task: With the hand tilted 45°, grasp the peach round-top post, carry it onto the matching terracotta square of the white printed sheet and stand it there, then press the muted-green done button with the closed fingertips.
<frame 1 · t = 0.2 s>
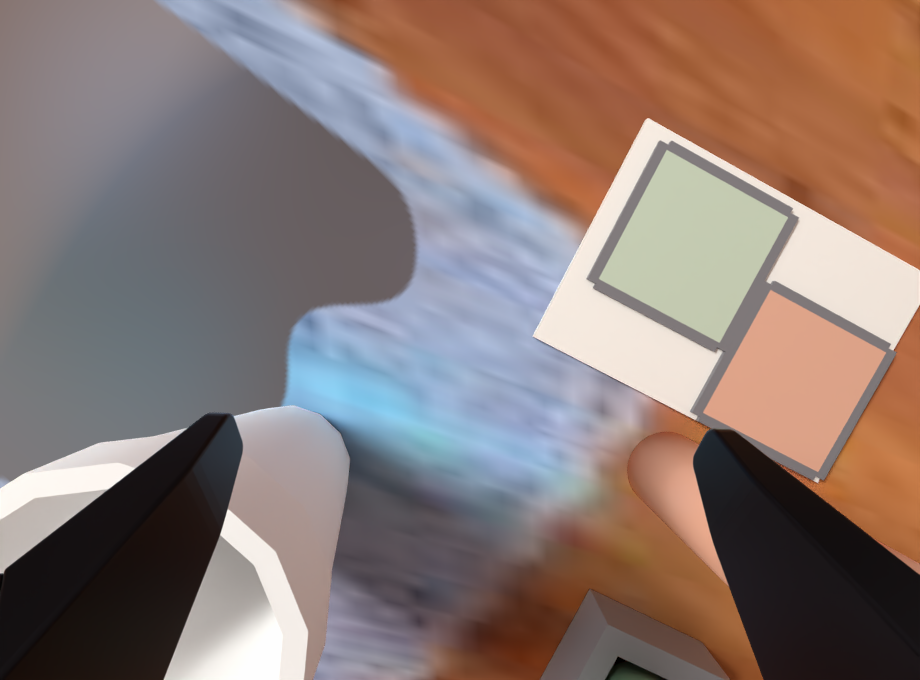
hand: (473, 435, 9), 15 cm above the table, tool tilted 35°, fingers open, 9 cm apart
sheet: (732, 307, 24), on the table
peach round-top post: (664, 469, 25), on the table
foam cup: (289, 464, 24), on the table
button housing: (615, 670, 26), on the table
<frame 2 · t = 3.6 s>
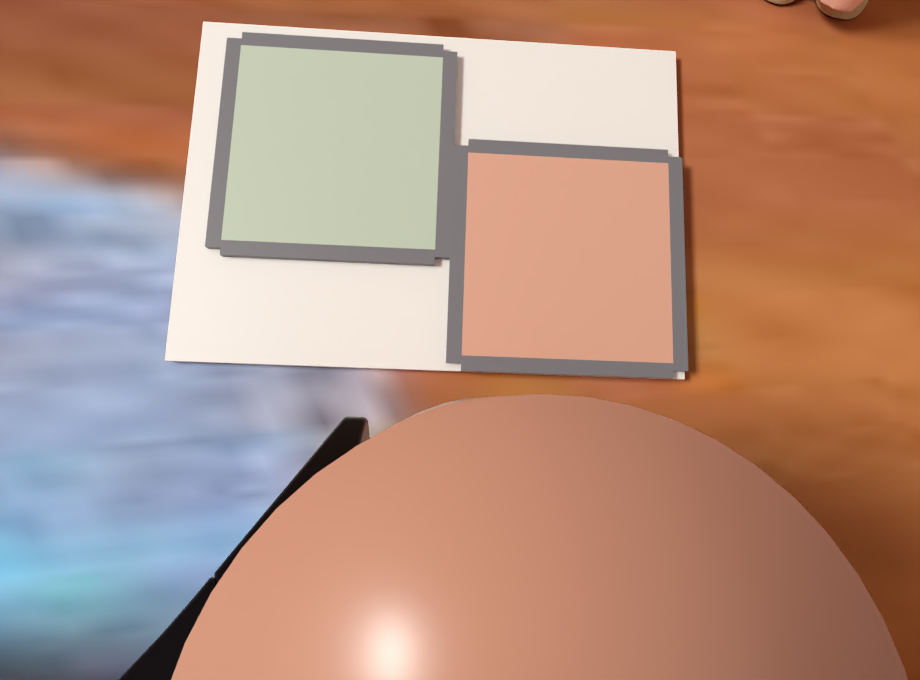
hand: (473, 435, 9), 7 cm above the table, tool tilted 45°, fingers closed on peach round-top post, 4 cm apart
sheet: (437, 199, 16), on the table
peach round-top post: (457, 463, 15), on the table, touching gripper
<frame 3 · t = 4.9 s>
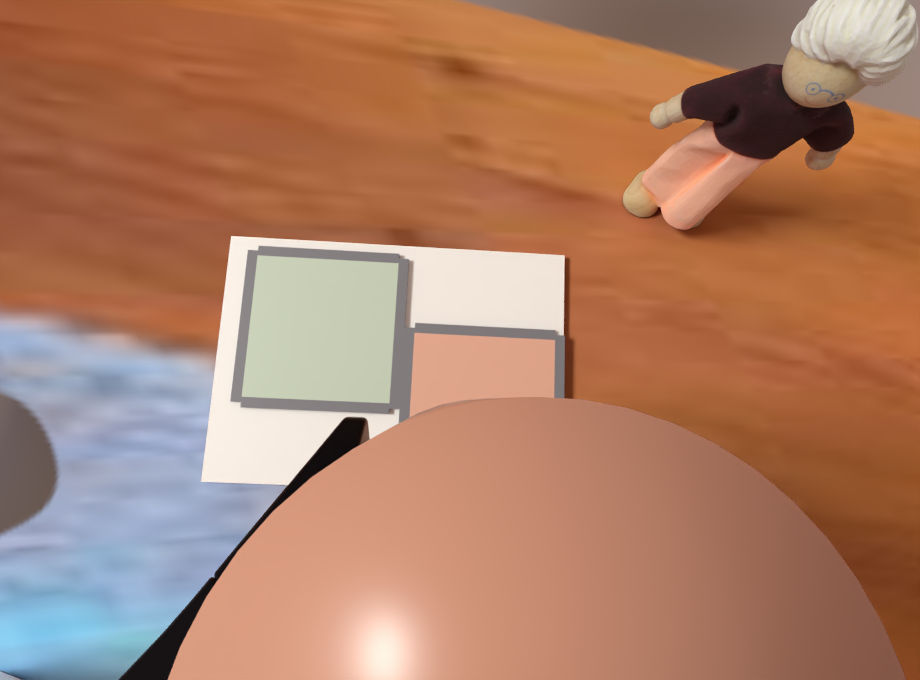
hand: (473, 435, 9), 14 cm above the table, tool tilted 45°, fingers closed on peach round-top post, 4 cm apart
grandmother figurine: (672, 203, 26), on the table
sheet: (393, 363, 23), on the table
peach round-top post: (457, 464, 15), point 8 cm above the table, touching gripper
when the fingers open (8 cm above the table, at t = 6.4 s): peach round-top post stays where it is, resting on sheet.
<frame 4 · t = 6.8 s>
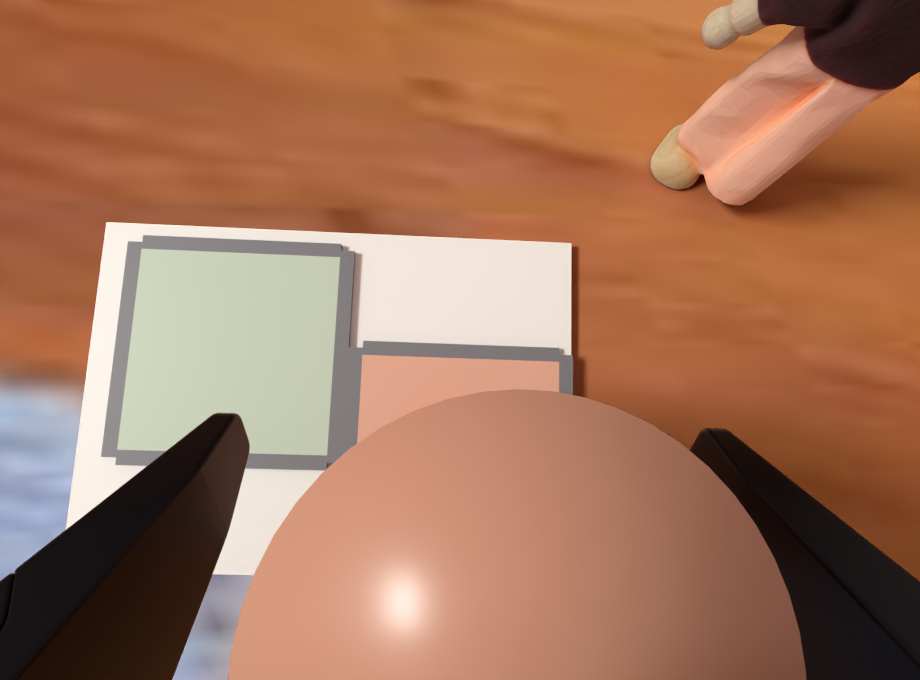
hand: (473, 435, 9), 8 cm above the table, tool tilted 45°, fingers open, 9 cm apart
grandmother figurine: (717, 170, 19), on the table
sheet: (334, 396, 17), on the table
peach round-top post: (456, 460, 16), point 1 cm above the table, touching sheet
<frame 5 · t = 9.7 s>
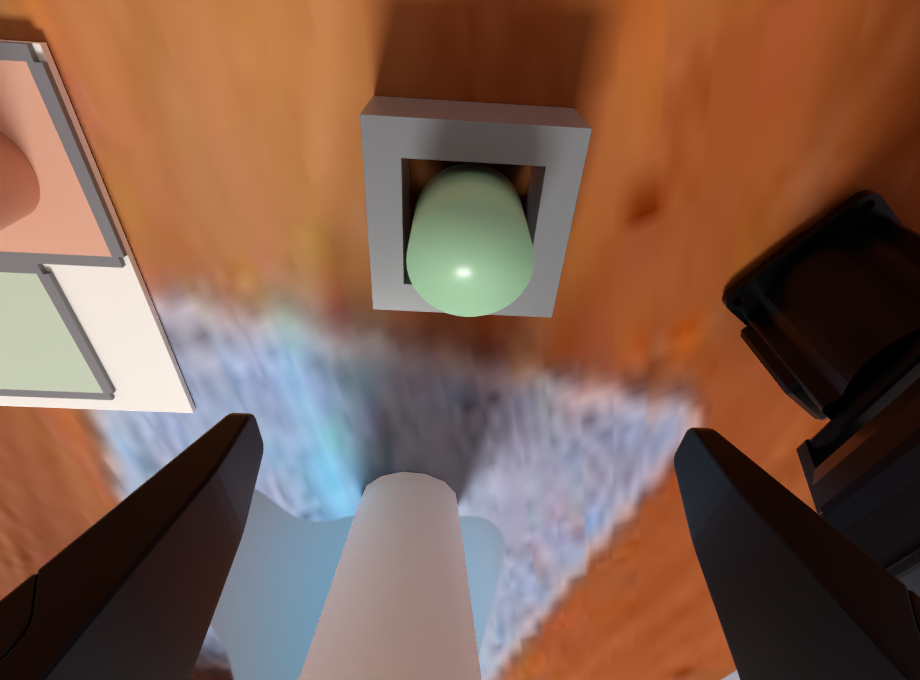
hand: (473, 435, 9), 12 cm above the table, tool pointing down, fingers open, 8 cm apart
foam cup: (410, 498, 31), on the table
button housing: (468, 199, 19), on the table
done button: (469, 239, 16), point 3 cm above the table, slide at 0.0 cm
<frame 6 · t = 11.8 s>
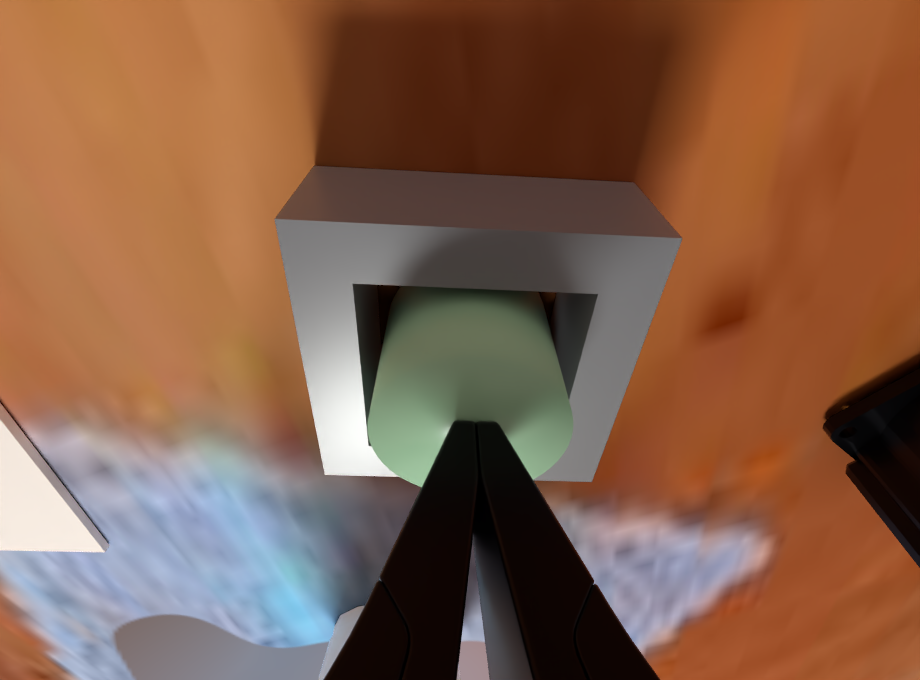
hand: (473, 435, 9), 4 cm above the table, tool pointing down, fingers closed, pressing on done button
foam cup: (395, 625, 25), on the table
button housing: (466, 307, 12), on the table
done button: (468, 373, 10), point 3 cm above the table, slide at 0.9 cm, touching gripper
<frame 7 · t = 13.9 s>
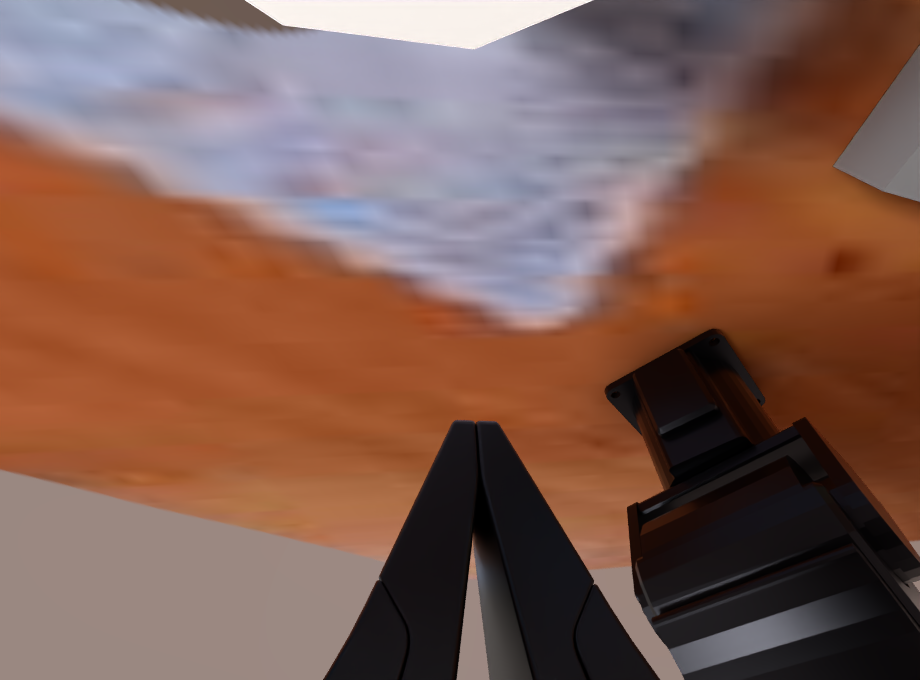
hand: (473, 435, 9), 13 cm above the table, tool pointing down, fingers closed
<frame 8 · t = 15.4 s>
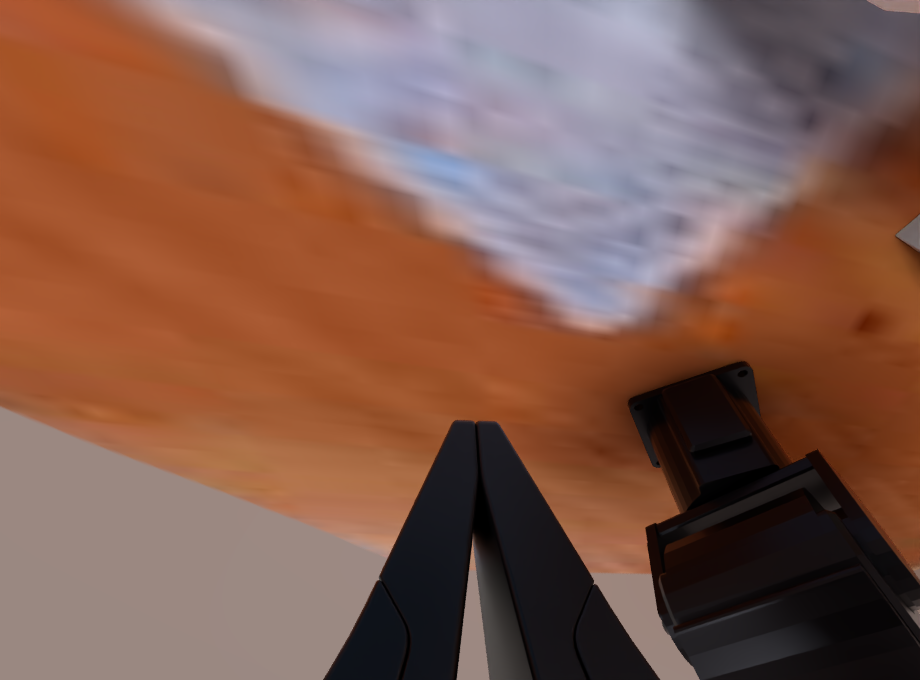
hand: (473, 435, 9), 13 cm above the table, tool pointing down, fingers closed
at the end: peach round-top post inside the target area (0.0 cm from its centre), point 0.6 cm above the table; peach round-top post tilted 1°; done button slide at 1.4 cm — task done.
